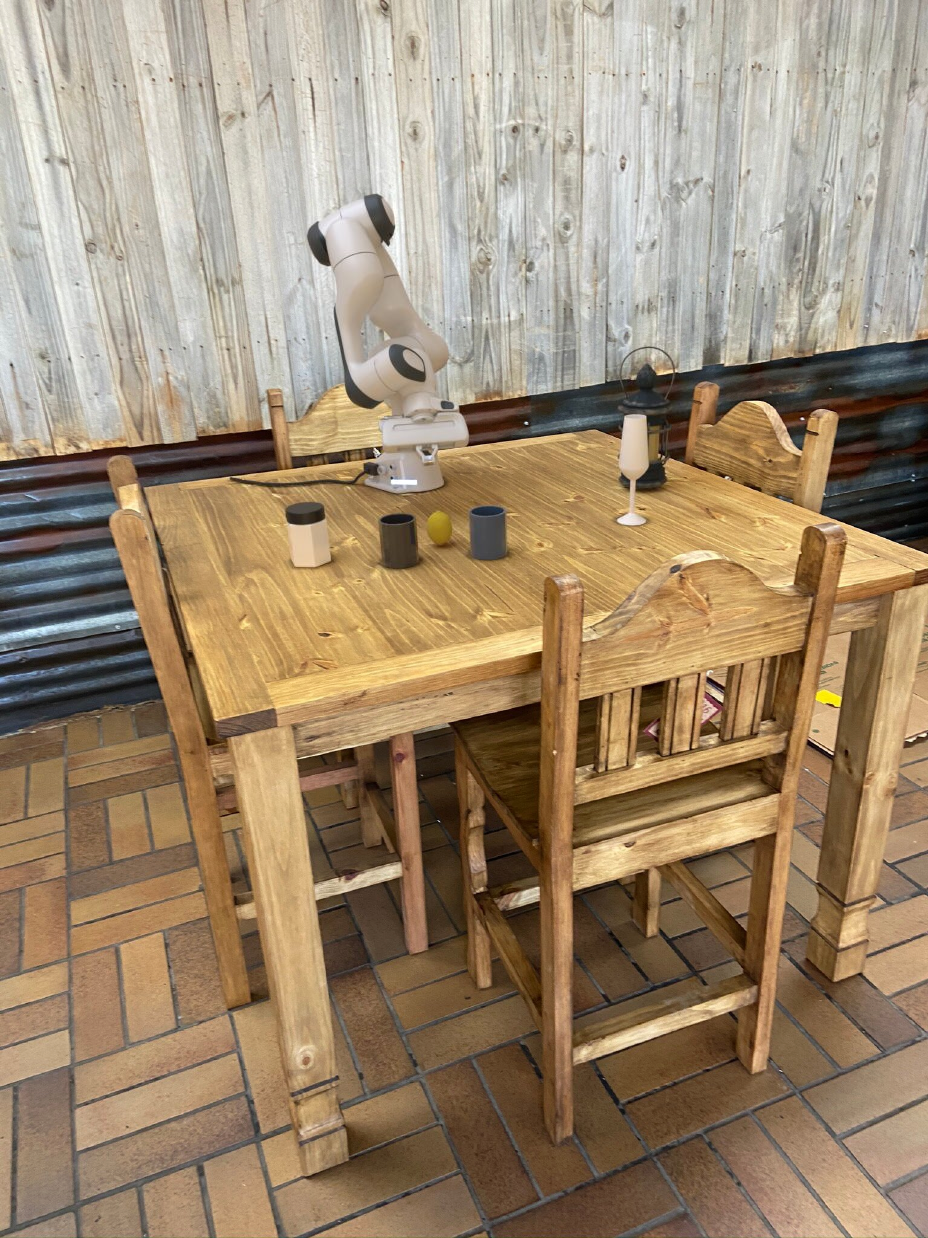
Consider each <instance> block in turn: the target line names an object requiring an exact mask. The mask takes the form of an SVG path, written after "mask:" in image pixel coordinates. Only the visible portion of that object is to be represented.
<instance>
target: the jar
mask: <svg viewBox="0 0 928 1238" xmlns="http://www.w3.org/2000/svg"><path fill="white" fill-rule="evenodd" d="M325 511H326V510H325V505H324V504H323V503H321V502H317V501H302V502H296V503H293V504H290V505H288V506H287V507H285V509H284V512H285V513H284V514H285V515H284V516H285V524H286V531H287V538H288V545H289V552H290V560H291V561H292V563H293V566H294V567H295V568H318V567H320V566H322V565H325V564H327V563H330V562H332V556H331V547H330V546H331V545H330V538H329V528H328V520H327V518H326V512H325Z"/></svg>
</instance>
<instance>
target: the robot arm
mask: <svg viewBox="0 0 928 1238" xmlns="http://www.w3.org/2000/svg"><path fill="white" fill-rule="evenodd" d="M395 230H396V221H395V213H394V211H393V208H392V207H391V205H390V204H389V202H388V201H387V199H385V198H384V196H382V195H380V194H379V193H371V194H368V195H364V197H362V198H359V199H357V200H354V201H352V202H349V203H347V204H345V205H343V206H341V207H340V208H338V209H337V210H335V211H333V212H332V213H329V214H328V215H327V216H325V217H324V218H322V219H321V220H320V221H319V220H317V221H316V222H314V223H313V224H312V225H310V227H309V228H308V230H307V234H306V240H307V245H308V247H309V251H310V252H311V253H310V254H312V256H313V257H314V258H315V260H316V261H317V262H318V263H319V264H320V265H321V266H325V267H331V270H332V274H333V275H334V279H335V286H336V298H335V302H334V305H333V319H334V326H335V331H336V336H337V341H338V342H337V343H338V345H339V350H340V352H339V353H340V356H341V357H340V358H341V361H342V366H343V379H344V380H343V381H344V389H345V393H346V395H347V397H348V399H349V400H350V402H351V403H352V404H354V405H355V406H357V407H359V408H362V409H366V410H373V409H375V408H377V407H378V406H380V405H381V404H382V403H383V402H384V401H385V400H387V399H388V401H389V405H390V411H391V415H384V416H383V417H382V418H380V419H379V420H378V422H377V423H378V430H379V432H380V433H381V444H382V445H381V446H382V451H383V452H382V454H380V455H379V456H378V457H377V458H376V459H375V460H374V461H373V462H372V461H368V462H363V463H362V465H363V471H362V472H360V473H359V474H358V475H356V476H355V478H354V479H353V480H339V479H332V478H331V479H330V478H329V479H328V478H327V479H316V480H306V481H296V482H295V481H294V482H265V481H257V480H250V479H244V480H242V479H243V478H238V477H234V476H230V477H229V480H230V481H235V482H239V483H246V484H251V485H259V486H266V487H267V486H268V487H290V486H293V487H294V486H305V485H306V486H307V485H313V484H323V483H334V484H342V485H353V484H356V483H357V482H358V481H359V479H360V478H361V477H363V476H364V475H370V476H369V477H367V478H366V479H365V480H364V485H365V486H369V487H372V488H375V489H379V490H382V491H386V492H389V493H392V494H404V493H418V492H427V491H431V490H436V489H439V488H441V487H443V486H444V485H445V480H444V477H443V475H442V471H441V470H442V469H441V467H440V466H441V465H440V462H439V461H440V460H439V456H438V453H439V450H448V449H459V448H466V447H467V446H468V445H469V441H470V434H469V429H468V426H467V422H466V419H465V417H464V416H463V414H462V413H460V406H459V403H458V402H457V401H451V400H446V399H442V398H439V397H438V395H437V392H436V391H437V380H436V373H437V372H439V371H441V370H442V369H444V368H445V367H446V365H447V364H448V362H449V357H450V351H449V346H448V343H447V342H446V340H445V339H444V338H443V337H442V336H441V335H439V334H438V333H436V332H435V331H433V330H432V329H431V328H430V327H429V326H428V325H427V324H426V322H425V321H424V320H423V319H422V317H421V316H420V315H419V314H418V312H417V310H416V309H415V308H414V306H413V304H412V302H411V300H410V297H409V295H408V293H407V290H406V288H405V286H404V284H403V281H402V279H401V276H400V273H399V271H398V269H397V267H396V264H395V262H394V261H393V259H392V257H391V255H390V254H389V252H388V250H387V249H386V247H385V245H386V246H387V247H390V245H391V240H392V238H393V236H394V234H395ZM383 242H384V244H385V245H384V244H383ZM367 315H368V317H369V320H370V322H371V323H372V324H373V325H374V326H375V327H377V328H378V329H380V330H382V331H383V332H384V333H385V334H386V335H387V336H388V337H389V339H388V338H387V339H385V340H383V341H381V342H380V343H378V344H376V345H375V346H373V347H372V348H371V349H370V350H369V352H368V356H367V360H366V355H365V350H364V346H363V339H362V335H361V334H362V332H361V331H362V326H363V323H364V322H365V319H366V317H367ZM233 477H234V478H233Z"/></svg>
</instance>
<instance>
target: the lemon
mask: <svg viewBox="0 0 928 1238" xmlns="http://www.w3.org/2000/svg"><path fill="white" fill-rule="evenodd" d="M426 532H427V536H428V538H429V539H430V540H431V542H433V543H435V544H437V545H438V546H443V545H444V543H446V542H448V541H449V540H450V539H451V536H452V533H453V524H452V521H451V518H450V516H449V515H448V514H447V513H445V512H443V511H441V510H436V511H435V512H433V513H431V515H430V516H429V517H428V519H427V523H426Z"/></svg>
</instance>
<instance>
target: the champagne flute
mask: <svg viewBox="0 0 928 1238" xmlns="http://www.w3.org/2000/svg"><path fill="white" fill-rule="evenodd" d="M623 418H624V425H623V433H622V432H621V441H620V442H621V443H620V449H619V454H620V457H619V459H618V468H619V470H620V473H621V472H622V473H623V474H624V475H625V476H626V477H627V478H628V479H630V488H629V509H628V510H629V512H627V513H626V514H624V515H622V516H621V517H619V518H617V519H616V522H617V523H619V524H621V525H625V526H639V525H643V524H645V523H647V519H646V518H645V517H642V516H641V515H640V514H637V513H636V512H635V510H636V508H635V507H636V489H635V485H636V480H637V479H638V478H640V477H641V476H642V475H643V474H644V473H645V472H646V470H647V469H648V467H649V460H648V441H647V422H646V416H645V415H639V414H633V415H626V416H625V417H623Z"/></svg>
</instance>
